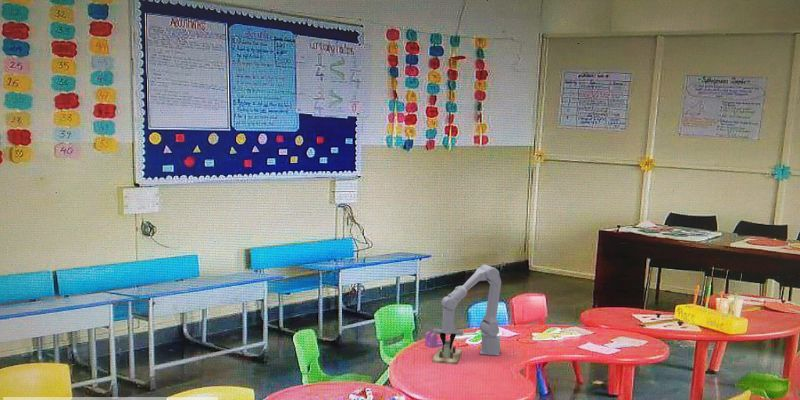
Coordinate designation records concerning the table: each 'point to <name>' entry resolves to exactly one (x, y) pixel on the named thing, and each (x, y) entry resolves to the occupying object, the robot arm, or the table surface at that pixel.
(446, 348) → the door
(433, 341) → the bracket
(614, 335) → the table surface
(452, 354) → the beige board with pegs
